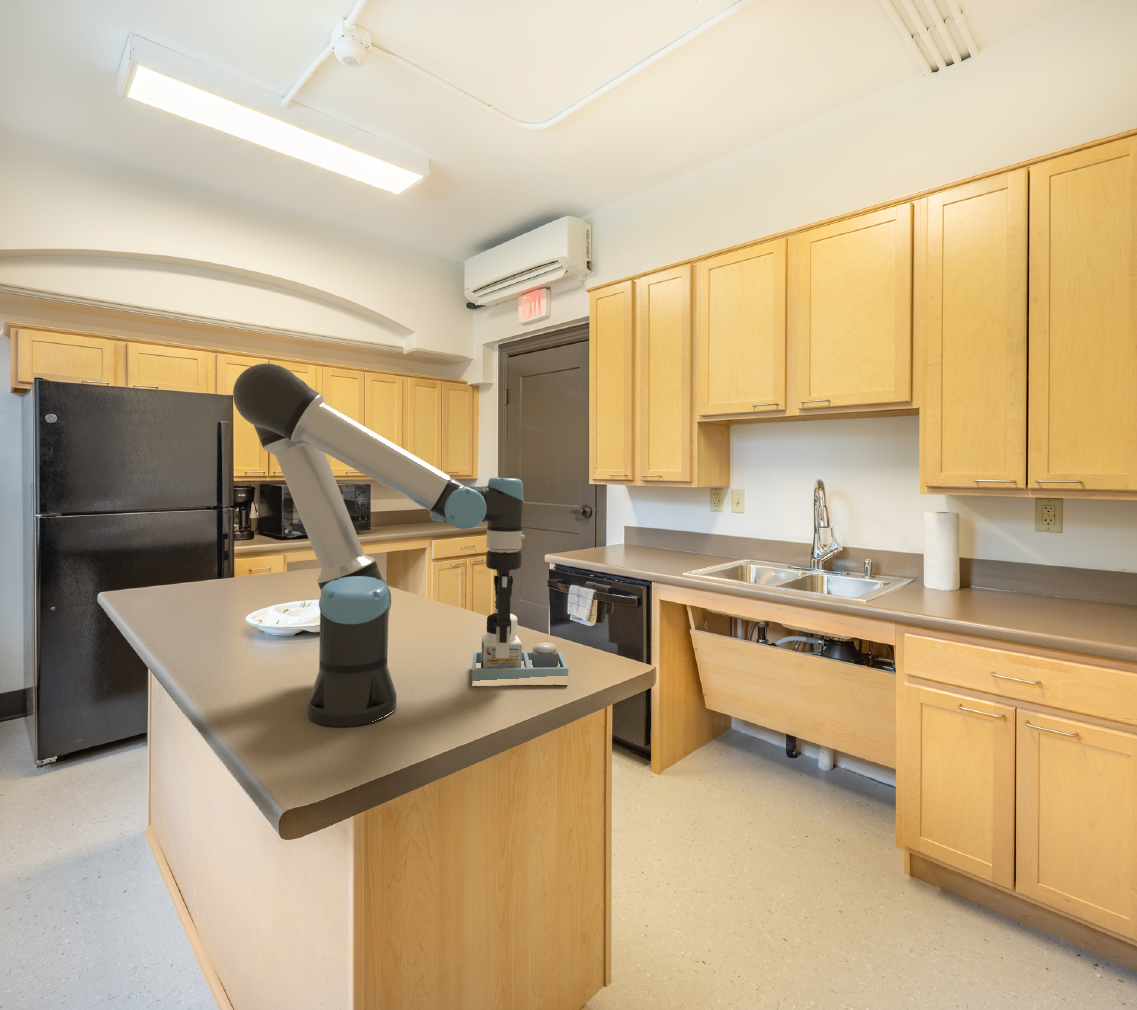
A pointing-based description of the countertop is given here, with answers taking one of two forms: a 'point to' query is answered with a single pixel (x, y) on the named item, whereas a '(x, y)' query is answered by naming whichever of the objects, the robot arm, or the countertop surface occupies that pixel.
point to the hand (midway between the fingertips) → (501, 647)
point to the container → (490, 646)
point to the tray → (542, 662)
